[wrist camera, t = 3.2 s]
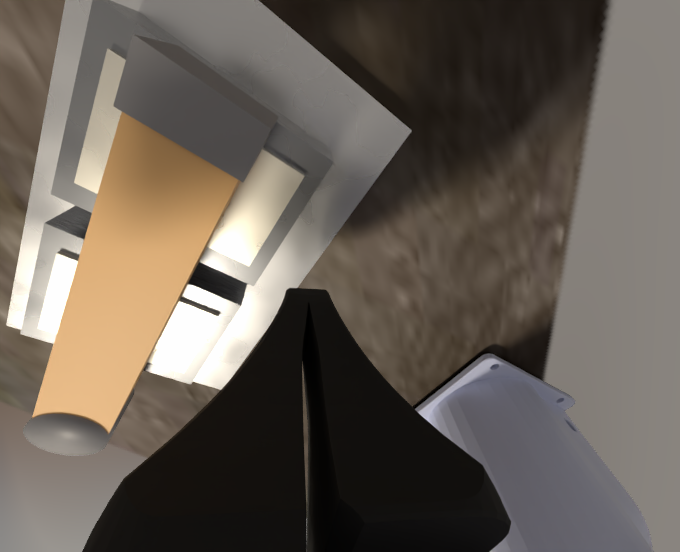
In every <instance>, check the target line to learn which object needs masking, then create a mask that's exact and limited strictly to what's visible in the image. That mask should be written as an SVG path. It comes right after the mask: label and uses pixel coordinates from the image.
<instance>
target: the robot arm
mask: <svg viewBox="0 0 680 552" xmlns="http://www.w3.org/2000/svg"><path fill="white" fill-rule="evenodd" d="M302 361H303V371H304V383H305V395H306V408H307V420H308V504H307V541H306V489H305V464H304V437H303V396H302ZM574 404H575V400H574V399H573V398H572V397H571V396H570V395H568V394H566V393H564V392H562V391H560V390H559V389H557V388H555V387H553V386H551V385H549V384H548V383H546V382H544V381H542V380H540V379H538V378H536V377H535V376H533V375H531V374H529V373H527V372H525V371H523V370H521V369H520V368H518V367H516V366H514V365H512V364H510V363H508V362H507V361H505V360H503V359H501V358H499V357H497V356H495V355H494V354H490V353H488V354H484V355H482V356H481V357H479V358H478V359H477V360H476V361H474V362H473V363H472V364H471V365H469V366H468V367H467V368H466V369H464V370H463V371H462V372H461V373H459V374H458V375H457V376H456V377H454V378H453V379H452V380H451V381H449V382H448V383H447V384H446V385H444V386H443V387H442V388H441V389H439V390H438V391H437V392H436V393H434V394H433V395H432V396H431V397H429V398H428V399H427V400H426V401H424V402H423V403H422V404H421V405H419V406H418V407H417V408H415V409H414V408H413V407H412V406H411V405H410V404H409V403H408V402H407V401H406V400H405V399H404V398H403V397H402V396H401V395H400V394H399V393H397V391H396V390H395V389H394V388H393V387H392V386H391V385H390V384H389V383H388V382H387V381H386V380H385V378H384V377H383V376H382V375H381V374H380V373H379V371H378V370H377V369H376V368H375V367H374V366H373V364H372V363H371V362H370V360H369V359H368V358H367V357H366V355H365V354H364V353H363V351H362V350H361V348H360V347H359V346H358V344H357V343H356V341H355V340H354V338H353V337H352V335H351V334H350V332H349V331H348V329H347V327H346V326H345V324H344V322H343V321H342V319H341V317H340V316H339V314H338V312H337V310H336V308H335V306H334V304H333V302H332V300H331V298H330V295H329V293H328V292H327V291H326V290H320V289H302V288H289V289H287V290H286V293H285V296H284V299H283V302H282V304H281V306H280V308H279V310H278V312H277V314H276V316H275V318H274V319H273V321H272V323H271V325H270V326H269V328H268V330H267V331H266V333H265V334H264V336H263V337H262V339H261V340H260V342H259V343H258V345H257V346H256V348H255V349H254V351H253V352H252V353H251V355H250V356H249V357H248V359H247V360H246V361H245V363H244V364H243V365H242V366H241V367H240V369H239V370H238V371H237V372H236V374H235V375H234V376H233V377H232V378H231V379H230V380H229V382H228V383H227V384H226V385H225V386H224V387H223V388H222V389H221V390H220V392H219V393H218V394H217V395H216V396H215V397H214V398H213V399H212V400H211V401H210V402H209V403H208V404H207V405H206V406H205V407H204V408H203V409H202V410H201V411H200V412H199V413H198V414H197V415H196V416H195V417H194V418H193V419H191V420H190V421H189V422H188V423H187V424H186V425H185V426H184V427H183V428H182V429H181V430H180V431H179V432H178V433H177V434H176V435H175V436H173V437H172V438H171V439H170V440H169V441H168V442H167V443H165V444H164V445H163V446H162V447H161V448H159V449H158V450H157V451H156V452H155V453H154V454H152V455H151V456H150V457H149V458H148V459H146V460H145V461H144V462H143V463H142V464H141V465H139V466H138V467H137V468H136V469H135V470H133V471H132V472H131V473H130V474H129V475H128V476H126V477H125V478H124V479H123V481H122V482H121V484H120V485H119V487H118V488H117V490H116V491H115V493H114V495H113V496H112V498H111V499H110V501H109V502H108V504H107V506H106V508H105V510H104V511H103V513H102V515H101V516H100V518H99V520H98V521H97V523H96V525H95V527H94V528H93V530H92V532H91V534H90V536H89V538H88V540H87V543H86V545H85V547H84V549H83V551H82V552H306V550H307V552H654V551H653V550H652V542H651V537H650V533H649V529H648V527H647V524H646V522H645V519H644V517H643V515H642V513H641V511H640V510H639V508H638V506H637V505H636V503H635V502H634V500H633V499H632V498H631V496H630V495H629V494H628V493H627V491H626V490H625V489H624V487H623V486H622V485H621V484H620V482H619V481H618V480H617V478H616V477H615V476H614V474H613V473H612V472H611V471H610V469H609V468H608V467H607V465H606V464H605V463H604V462H603V460H602V459H601V458H600V456H599V455H598V454H597V452H596V451H595V450H594V449H593V447H592V446H591V445H590V443H589V442H588V441H587V440H586V438H585V437H584V436H583V435H582V433H581V432H580V431H579V429H578V428H577V427H576V425H575V424H574V423H573V422H572V420H571V419H570V418H569V416H568V415H567V414H566V413H565V410H567V409H568V408H570V407H572V406H573V405H574Z"/></svg>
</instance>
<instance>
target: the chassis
mask: <svg viewBox="0 0 680 552" xmlns="http://www.w3.org/2000/svg"><path fill="white" fill-rule="evenodd" d="M133 34H135V35H139V36H143V37H147V38H151V39H155V40H159V41H163V42H167V43H171V44H175V45H178V46H180V47H181V48H182V49H184V50H185V51H187V52H188V53H190V54H191V55H192V56H194V57H195V58H197V59H198V60H199V61H201V62H202V63H204V64H205V65H206V66H208V67H209V68H211V69H212V70H214V71H215V72H216V73H218V74H219V75H221V76H222V77H223V78H225V79H226V80H228V81H229V82H230V83H232V84H233V85H235V86H236V87H237V88H239V89H240V90H242V91H243V92H245V93H246V94H247V95H249V96H250V97H252V98H253V99H254V100H256V101H257V102H259V103H260V104H261V105H263V106H264V107H266V108H267V109H268V110H270V111H271V112H273V113H274V114H276V115H277V116H278V117H279V118H278V120H277V122H276V124H275V125H274V127H273V129H272V131H271V133H270V135H269V137H268V139H267V141H266V143H265V145H264V146H263V148H262V150H261V152H260V154H259V156H258V158H257V160H256V162H255V163H254V165H253V167H252V168H251V170H250V172H249V173H248V175H247V177H246V179H245V180H244V182H241V181H240V183H239V185H238V187H237V189H236V191H235V193H234V195H233V197H232V199H231V201H230V203H229V205H228V207H227V209H226V211H225V213H224V214H223V216H222V218H221V220H220V222H219V224H218V226H217V228H216V230H215V232H214V234H213V236H212V238H211V240H210V242H209V244H208V245H207V247H206V249H205V251H204V253H203V255H202V257H201V259H200V261H199V263H198V265H197V267H196V269H195V271H194V273H193V275H192V277H191V278H190V280H189V282H188V284H187V286H186V288H185V290H184V292H183V294H182V296H181V298H180V300H179V302H178V304H177V306H176V308H175V310H174V311H173V313H172V315H171V317H170V319H169V321H168V323H167V325H166V327H165V329H164V331H163V333H162V335H161V337H160V339H159V341H158V342H157V344H156V346H155V348H154V350H153V352H152V354H151V356H150V358H149V360H148V362H147V364H146V366H145V368H144V371H148V372H151V373H154V374H158V375H161V376H165V377H168V378H171V379H175V380H178V381H181V382H185V383H188V384H191V383H192V381H194V382H197V383H200V384H204V385H207V386H210V387H214V388H217V389H220V390H221V389H222V388H223V387H224V386H225V385H226V384H227V383H228V382H229V380H230V379H231V378H232V376H233V375H234V374H235V372H236V371H237V369H238V368H239V367H240V365H241V364H242V363H243V361H244V360H245V358H246V357H247V356H248V354H249V353H250V352H251V350H252V349H253V348H254V346H255V345H256V343H257V342H258V341H259V339H260V338H261V337H262V335H263V334H264V332H265V331H266V330H267V328H268V327H269V326H270V324H271V323H272V321H273V319H274V318H275V316H276V314H277V312H278V310H279V308H280V306H281V304H282V302H283V299H284V296H285V293H286V290H287V289H289V288H297V287H298V286H299V285H300V283H301V282H302V280H303V279H304V278H305V276H306V275H307V274H308V272H309V271H310V270H311V268H312V267H313V265H314V264H315V263H316V261H317V260H318V259H319V257H320V256H321V254H322V253H323V252H324V250H325V249H326V248H327V246H328V245H329V244H330V242H331V241H332V239H333V238H334V237H335V235H336V234H337V233H338V231H339V230H340V228H341V227H342V226H343V224H344V223H345V222H346V220H347V219H348V218H349V216H350V215H351V213H352V212H353V211H354V209H355V208H356V207H357V205H358V204H359V202H360V201H361V200H362V198H363V197H364V196H365V194H366V193H367V192H368V190H369V189H370V187H371V186H372V185H373V183H374V182H375V181H376V179H377V178H378V176H379V175H380V174H381V172H382V171H383V170H384V168H385V167H386V166H387V164H388V163H389V161H390V160H391V159H392V157H393V156H394V155H395V153H396V152H397V150H398V149H399V148H400V146H401V145H402V144H403V142H404V141H405V140H406V138H407V137H408V135H409V134H410V133H411V131H412V130H411V129H409V128H408V127H407V126H406V125H405V124H404V123H402V122H401V121H400V120H399V119H398V118H396V117H395V116H394V115H393V114H392V113H391V112H389V111H388V110H387V109H386V108H385V107H384V106H382V105H381V104H380V103H379V102H378V101H376V100H375V99H374V98H373V97H372V96H371V95H369V94H368V93H367V92H366V91H365V90H364V89H362V88H361V87H360V86H359V85H358V84H356V83H355V82H354V81H353V80H352V79H351V78H349V77H348V76H347V75H346V74H345V73H343V72H342V71H341V70H340V69H339V68H338V67H336V66H335V65H334V64H333V63H332V62H331V61H329V60H328V59H327V58H326V57H325V56H323V55H322V54H321V53H320V52H319V51H318V50H316V49H315V48H314V47H313V46H312V45H311V44H309V43H308V42H307V41H306V40H305V39H303V38H302V37H301V36H300V35H299V34H298V33H296V32H295V31H294V30H293V29H292V28H290V27H289V26H288V25H287V24H286V23H285V22H283V21H282V20H281V19H280V18H279V17H278V16H276V15H275V14H274V13H273V12H272V11H270V10H269V9H268V8H267V7H266V6H265V5H263V4H262V3H261V2H260V1H259V0H65V6H64V11H63V17H62V22H61V28H60V33H59V39H58V44H57V50H56V55H55V61H54V66H53V72H52V77H51V83H50V88H49V94H48V99H47V105H46V110H45V116H44V121H43V127H42V132H41V138H40V143H39V149H38V154H37V160H36V165H35V171H34V176H33V182H32V187H31V193H30V198H29V204H28V209H27V215H26V220H25V226H24V231H23V237H22V242H21V248H20V253H19V258H18V264H17V269H16V275H15V280H14V286H13V291H12V297H11V302H10V308H9V313H8V319H7V324H6V325H7V326H10V327H14V328H17V329H20V330H21V334H23V335H26V336H29V337H33V338H36V339H39V340H43V341H46V342H50V343H53V344H54V341H55V338H56V334H57V331H58V328H59V324H60V321H61V317H62V314H63V311H64V307H65V304H66V300H67V297H68V293H69V290H70V287H71V283H72V280H73V276H74V273H75V269H76V266H77V263H78V259H79V256H80V252H81V249H82V246H83V242H84V239H85V235H86V232H87V228H88V225H89V222H90V218H91V215H92V211H93V208H94V204H95V201H96V198H97V194H98V191H99V187H100V184H101V181H102V177H103V174H104V170H105V167H106V163H107V160H108V157H109V153H110V150H111V146H112V143H113V139H114V136H115V133H116V129H117V126H118V122H119V119H120V115H121V112H122V111H120V110H119V109H117V108H115V107H114V106H113V105H114V101H115V97H116V94H117V90H118V87H119V83H120V79H121V76H122V72H123V69H124V65H125V61H126V58H127V54H128V51H129V47H130V43H131V40H132V36H133Z"/></svg>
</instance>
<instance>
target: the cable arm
mask: <svg viewBox="0 0 680 552" xmlns="http://www.w3.org/2000/svg"><path fill="white" fill-rule="evenodd" d="M113 106H114V107H115V108H117V109H119V110H120V111H122V112H121V115H120V119H119V122H118V126H117V129H116V133H115V136H114V139H113V143H112V146H111V150H110V153H109V157H108V160H107V163H106V167H105V170H104V174H103V177H102V181H101V184H100V187H99V191H98V194H97V198H96V201H95V204H94V208H93V211H92V215H91V218H90V222H89V225H88V228H87V232H86V235H85V239H84V242H83V246H82V249H81V252H80V256H79V259H78V263H77V266H76V269H75V273H74V276H73V280H72V283H71V287H70V290H69V293H68V297H67V300H66V304H65V307H64V311H63V314H62V317H61V321H60V324H59V328H58V331H57V334H56V338H55V341H54V345H53V348H52V352H51V355H50V358H49V362H48V365H47V369H46V372H45V376H44V379H43V382H42V386H41V389H40V393H39V396H38V400H37V403H36V406H35V410H34V413H33V417H32V418H31V419H30V420H29V422H28V423H27V424H26V425H25V427H24V429H23V433H24V436H25V437H26V438H27V440H28V441H29V442H30V443H32V444H33V445H35V446H36V447H39V448H41V449H43V450H46V451H49V452H52V453H56V454H61V455H69V456H82V455H90V454H94V453H97V452H99V451H101V450H103V449H104V448H105V447H106V445H107V443H108V441H109V439H110V438H111V436H112V434H113V432H114V430H115V428H116V427H117V425H118V423H119V421H120V419H121V417H122V415H123V414H124V412H125V410H126V408H127V406H128V404H129V402H130V401H131V399H132V397H133V395H134V387H135V385H136V383H137V381H138V379H139V377H140V375H141V374H142V372H143V370H144V368H145V366H146V364H147V362H148V360H149V358H150V356H151V354H152V352H153V350H154V348H155V346H156V344H157V342H158V341H159V339H160V337H161V335H162V333H163V331H164V329H165V327H166V325H167V323H168V321H169V319H170V317H171V315H172V313H173V311H174V310H175V308H176V306H177V304H178V302H179V300H180V298H181V296H182V294H183V292H184V290H185V288H186V286H187V284H188V282H189V280H190V278H191V277H192V275H193V273H194V271H195V269H196V267H197V265H198V263H199V261H200V259H201V257H202V255H203V253H204V251H205V249H206V247H207V245H208V244H209V242H210V240H211V238H212V236H213V234H214V232H215V230H216V228H217V226H218V224H219V222H220V220H221V218H222V216H223V214H224V213H225V211H226V209H227V207H228V205H229V203H230V201H231V199H232V197H233V195H234V193H235V191H236V189H237V187H238V185H239V183H240V181H241V182H244V180H245V179H246V177H247V175H248V173H249V172H250V170H251V168H252V167H253V165H254V163H255V162H256V160H257V158H258V156H259V154H260V152H261V150H262V148H263V146H264V145H265V143H266V141H267V139H268V137H269V135H270V133H271V131H272V129H273V127H274V125H275V124H276V122H277V120H278V118H279V117H278V116H277V115H276V114H274V113H273V112H271V111H270V110H268V109H267V108H266V107H264V106H263V105H261V104H260V103H259V102H257V101H256V100H254V99H253V98H252V97H250V96H249V95H247V94H246V93H245V92H243V91H242V90H240V89H239V88H237V87H236V86H235V85H233V84H232V83H230V82H229V81H228V80H226V79H225V78H223V77H222V76H221V75H219V74H218V73H216V72H215V71H214V70H212V69H211V68H209V67H208V66H206V65H205V64H204V63H202V62H201V61H199V60H198V59H197V58H195V57H194V56H192V55H191V54H190V53H188V52H187V51H185V50H184V49H182V48H181V47H180V46H178V45H175V44H171V43H167V42H163V41H159V40H155V39H151V38H147V37H143V36H139V35H135V34H133V36H132V40H131V43H130V47H129V51H128V54H127V58H126V61H125V65H124V69H123V72H122V76H121V79H120V83H119V87H118V90H117V94H116V97H115V101H114V105H113Z"/></svg>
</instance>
